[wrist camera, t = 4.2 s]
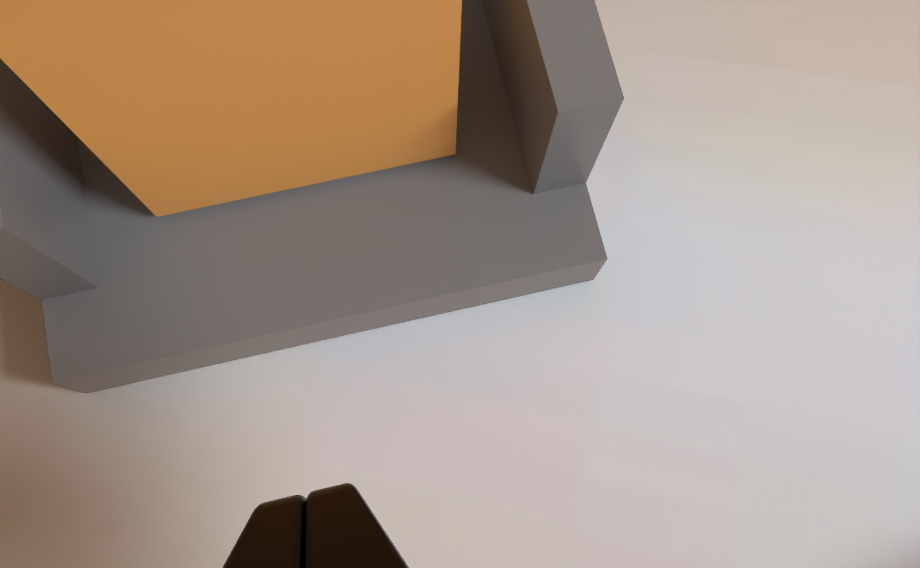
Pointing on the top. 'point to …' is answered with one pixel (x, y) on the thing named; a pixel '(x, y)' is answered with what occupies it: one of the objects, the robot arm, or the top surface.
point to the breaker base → (319, 218)
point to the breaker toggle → (241, 88)
